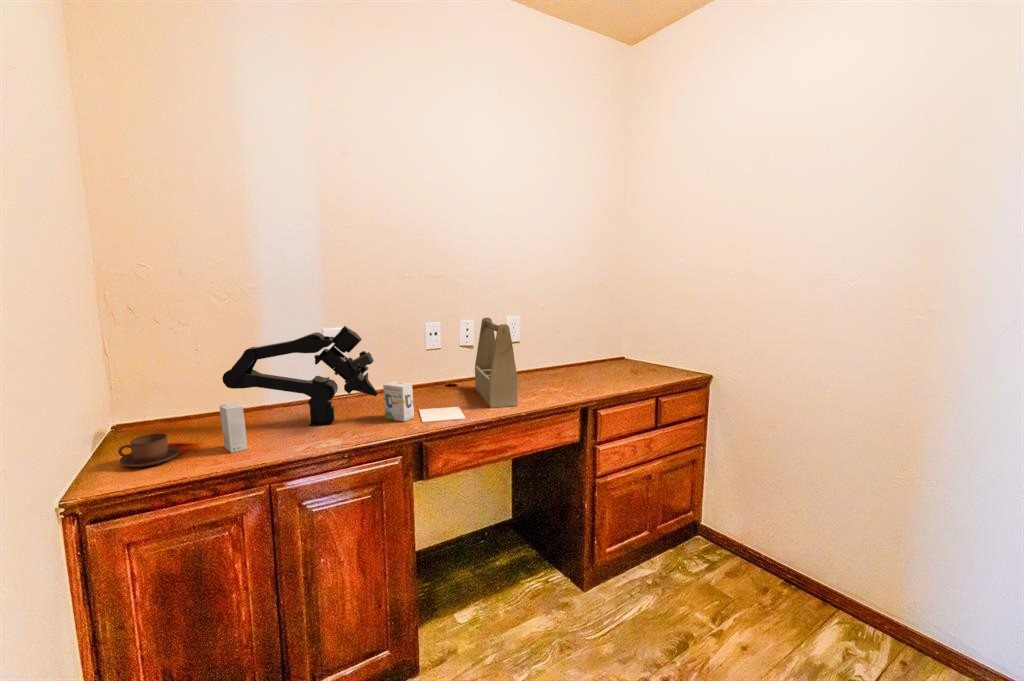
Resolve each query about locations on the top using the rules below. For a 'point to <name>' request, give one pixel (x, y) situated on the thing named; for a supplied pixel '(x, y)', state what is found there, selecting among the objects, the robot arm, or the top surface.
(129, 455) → the cup and saucer
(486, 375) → the caddy
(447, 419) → the mat
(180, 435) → the top surface
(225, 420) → the skincare box
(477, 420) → the top surface
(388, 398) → the ink box
